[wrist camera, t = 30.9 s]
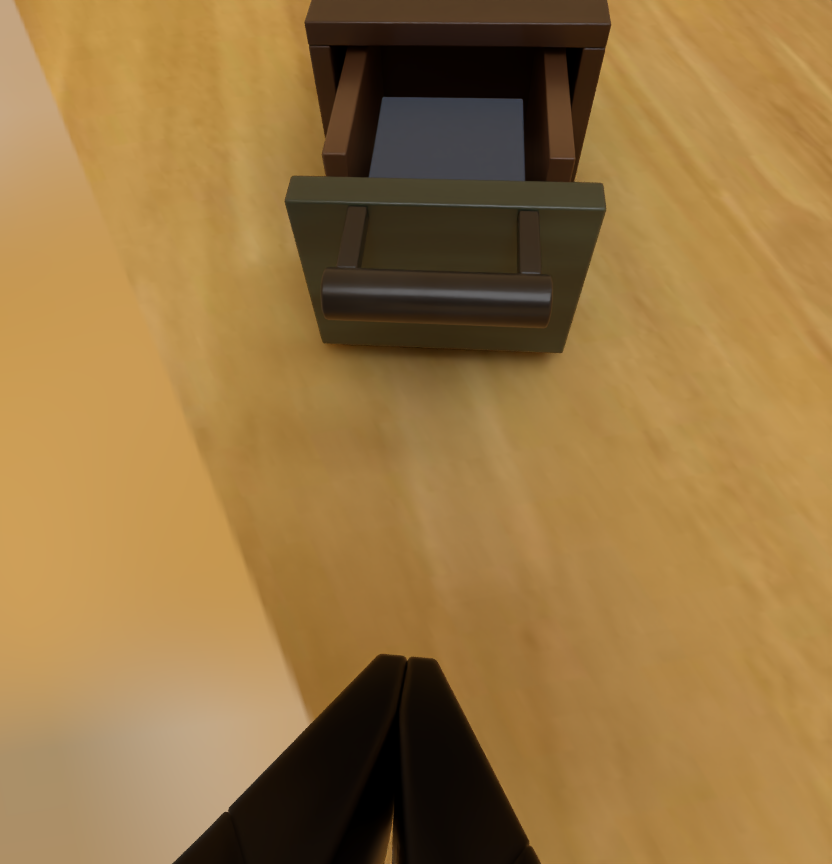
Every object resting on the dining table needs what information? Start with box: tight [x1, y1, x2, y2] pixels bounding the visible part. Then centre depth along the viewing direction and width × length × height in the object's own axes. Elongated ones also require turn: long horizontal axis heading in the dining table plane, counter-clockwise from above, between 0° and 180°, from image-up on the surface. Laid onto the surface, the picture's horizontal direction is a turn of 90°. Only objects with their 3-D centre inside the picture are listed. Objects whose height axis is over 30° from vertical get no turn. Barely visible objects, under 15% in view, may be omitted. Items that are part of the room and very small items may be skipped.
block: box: [369, 97, 525, 181], centre depth 22 cm, size 5×5×5 cm
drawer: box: [285, 46, 606, 353], centre depth 22 cm, size 16×9×7 cm, turn 176°
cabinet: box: [305, 0, 611, 182], centre depth 27 cm, size 14×11×9 cm
